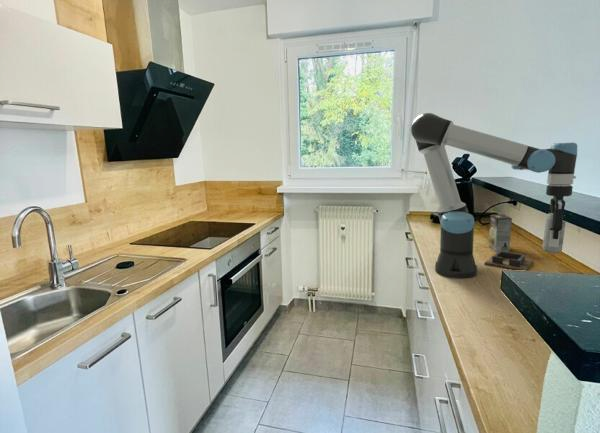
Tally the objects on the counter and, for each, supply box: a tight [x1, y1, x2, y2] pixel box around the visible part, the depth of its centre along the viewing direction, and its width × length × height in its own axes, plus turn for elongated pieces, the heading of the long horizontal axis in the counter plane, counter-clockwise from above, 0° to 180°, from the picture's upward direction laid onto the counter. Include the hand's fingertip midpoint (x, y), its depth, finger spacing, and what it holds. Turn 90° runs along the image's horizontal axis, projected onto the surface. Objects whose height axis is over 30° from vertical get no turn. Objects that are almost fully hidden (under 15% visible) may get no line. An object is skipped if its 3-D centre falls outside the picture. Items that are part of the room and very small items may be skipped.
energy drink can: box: [541, 212, 567, 254], centre depth 121 cm, size 6×6×15 cm
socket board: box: [483, 251, 534, 271], centre depth 131 cm, size 14×14×4 cm
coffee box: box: [488, 214, 513, 253], centre depth 149 cm, size 9×6×16 cm
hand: (552, 244), depth 122 cm, fingers closed on energy drink can, 6 cm apart
